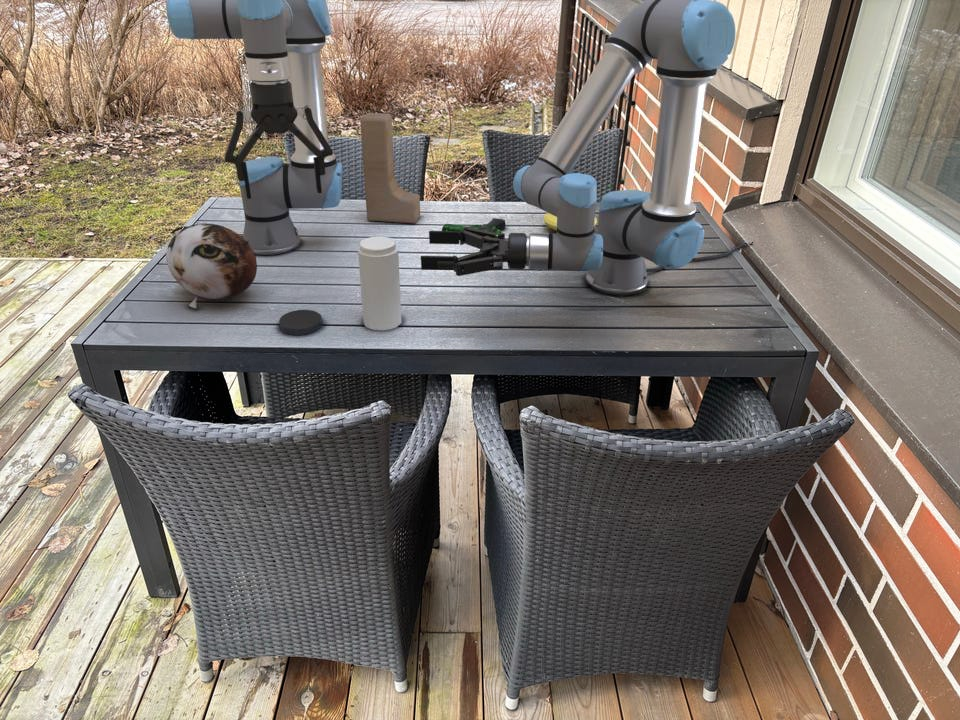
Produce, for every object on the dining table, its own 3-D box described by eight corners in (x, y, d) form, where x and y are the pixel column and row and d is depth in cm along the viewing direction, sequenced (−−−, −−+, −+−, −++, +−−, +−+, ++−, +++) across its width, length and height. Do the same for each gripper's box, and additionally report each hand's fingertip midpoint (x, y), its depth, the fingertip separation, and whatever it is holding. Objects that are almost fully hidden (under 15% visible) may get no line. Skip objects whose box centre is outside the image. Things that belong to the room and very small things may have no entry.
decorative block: (415, 224, 212) (412, 120, 197) (366, 221, 214) (359, 117, 199) (420, 215, 219) (417, 114, 203) (373, 212, 220) (366, 112, 205)
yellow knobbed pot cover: (559, 216, 220) (561, 193, 217) (605, 227, 212) (608, 204, 209) (532, 230, 209) (533, 207, 206) (580, 242, 201) (582, 218, 198)
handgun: (511, 219, 210) (493, 234, 198) (511, 228, 211) (492, 244, 199) (461, 212, 215) (440, 226, 203) (461, 221, 217) (440, 236, 204)
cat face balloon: (130, 285, 161) (164, 203, 163) (192, 308, 177) (221, 233, 178) (195, 307, 151) (229, 220, 152) (254, 330, 166) (285, 250, 168)
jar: (360, 315, 162) (354, 237, 152) (397, 311, 164) (393, 233, 154) (367, 332, 155) (361, 252, 145) (405, 327, 157) (401, 248, 147)
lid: (331, 323, 158) (330, 317, 157) (299, 339, 152) (299, 333, 151) (302, 312, 163) (301, 305, 162) (270, 327, 156) (269, 320, 155)
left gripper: (197, 87, 125) (218, 205, 136) (341, 81, 132) (350, 194, 142) (198, 80, 131) (218, 193, 142) (335, 75, 138) (344, 183, 149)
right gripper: (526, 294, 140) (418, 291, 141) (526, 245, 161) (433, 243, 162) (527, 258, 136) (416, 256, 137) (527, 213, 157) (431, 211, 158)
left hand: (284, 194), depth 142 cm, fingers open, 13 cm apart
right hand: (425, 249), depth 149 cm, fingers open, 13 cm apart
